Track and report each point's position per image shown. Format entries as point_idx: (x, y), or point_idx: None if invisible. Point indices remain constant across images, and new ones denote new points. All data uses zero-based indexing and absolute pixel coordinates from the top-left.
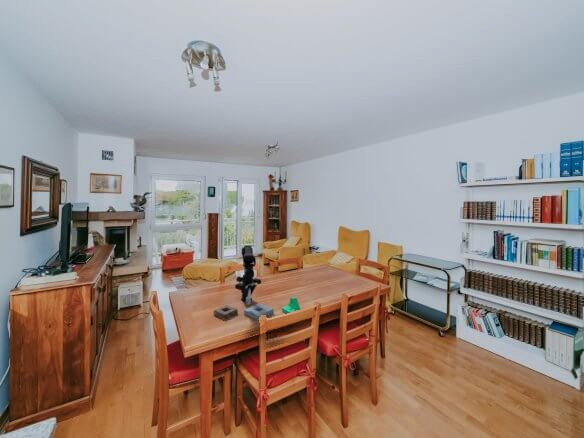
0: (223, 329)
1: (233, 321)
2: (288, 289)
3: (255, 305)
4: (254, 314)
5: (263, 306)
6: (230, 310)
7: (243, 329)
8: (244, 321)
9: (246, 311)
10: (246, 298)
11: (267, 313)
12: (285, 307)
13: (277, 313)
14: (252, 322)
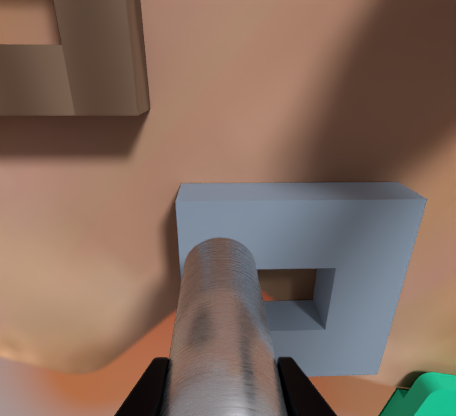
0: None
1: (13, 213)
2: None
3: (355, 215)
4: None
5: (375, 291)
6: (33, 68)
7: (16, 352)
8: (94, 281)
9: (179, 236)
10: (173, 336)
11: None
12: (453, 404)
13: None
14: (132, 331)
